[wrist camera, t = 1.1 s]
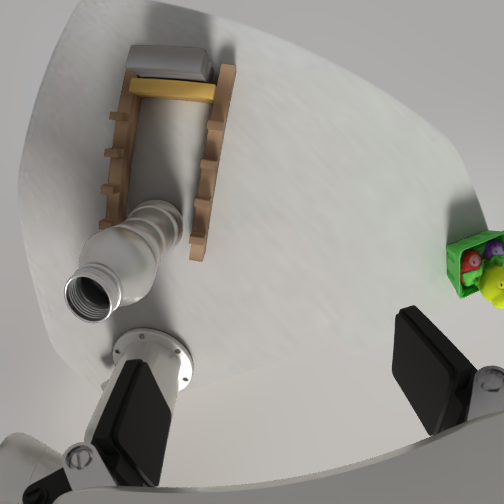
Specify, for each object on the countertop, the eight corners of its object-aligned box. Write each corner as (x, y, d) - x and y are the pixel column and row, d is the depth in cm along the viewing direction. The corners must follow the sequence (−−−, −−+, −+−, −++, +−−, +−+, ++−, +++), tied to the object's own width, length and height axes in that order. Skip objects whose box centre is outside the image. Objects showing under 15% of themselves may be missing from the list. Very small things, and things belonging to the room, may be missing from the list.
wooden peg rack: (205, 252, 38) (194, 284, 29) (114, 237, 37) (83, 263, 28) (236, 71, 31) (234, 48, 22) (137, 63, 30) (107, 43, 21)
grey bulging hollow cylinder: (127, 205, 36) (31, 267, 17) (177, 188, 35) (108, 238, 16) (144, 253, 38) (72, 347, 19) (194, 239, 37) (150, 332, 18)
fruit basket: (490, 220, 38) (539, 242, 27) (490, 269, 40) (532, 299, 30) (438, 239, 38) (487, 269, 28) (440, 292, 41) (481, 329, 31)
